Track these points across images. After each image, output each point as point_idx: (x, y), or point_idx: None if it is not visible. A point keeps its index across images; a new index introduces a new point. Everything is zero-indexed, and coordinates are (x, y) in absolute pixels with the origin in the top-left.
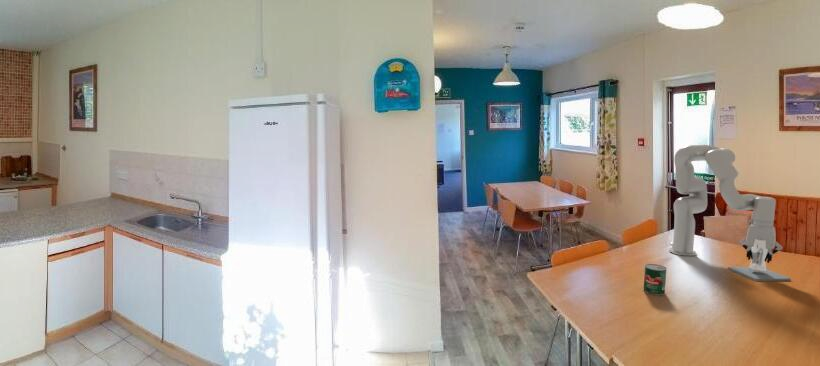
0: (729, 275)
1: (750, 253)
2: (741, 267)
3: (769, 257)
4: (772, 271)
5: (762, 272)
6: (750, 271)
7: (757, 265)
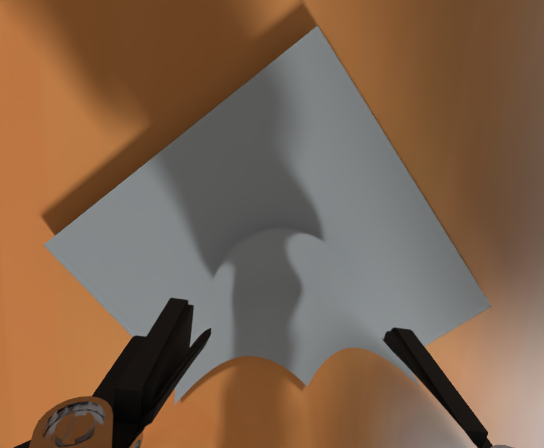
0: (505, 99)
1: None
2: None
3: (140, 346)
4: None
5: None
6: None
7: (296, 258)
